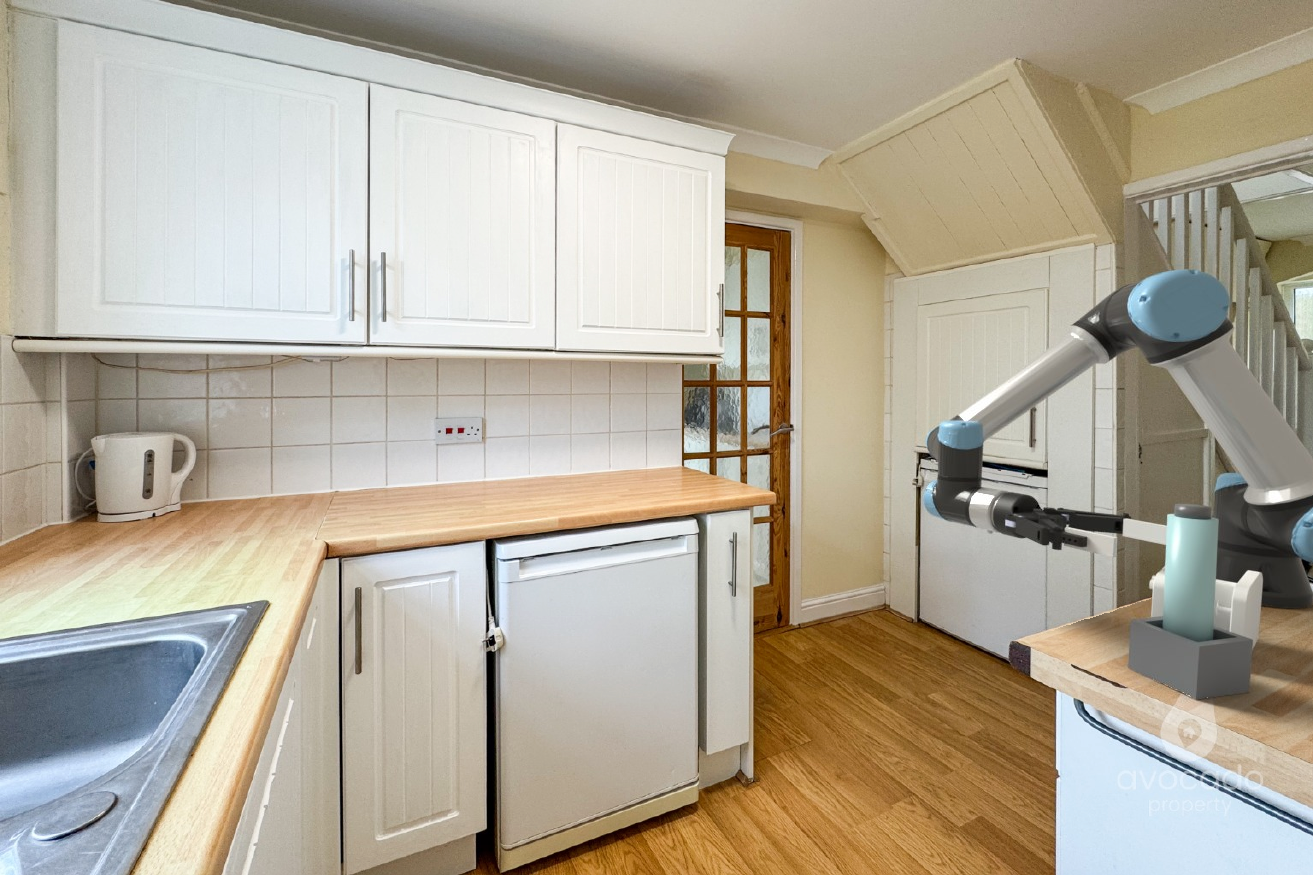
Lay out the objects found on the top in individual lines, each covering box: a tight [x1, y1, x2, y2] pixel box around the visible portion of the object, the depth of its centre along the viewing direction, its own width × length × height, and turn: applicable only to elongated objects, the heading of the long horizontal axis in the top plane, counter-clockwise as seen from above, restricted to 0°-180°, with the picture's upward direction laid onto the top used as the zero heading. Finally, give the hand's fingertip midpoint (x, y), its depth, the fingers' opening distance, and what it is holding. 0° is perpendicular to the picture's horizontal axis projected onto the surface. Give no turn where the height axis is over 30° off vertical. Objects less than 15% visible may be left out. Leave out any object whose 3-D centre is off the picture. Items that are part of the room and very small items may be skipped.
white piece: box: [1148, 565, 1263, 651], centre depth 87 cm, size 15×11×12 cm
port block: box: [1127, 616, 1253, 701], centre depth 77 cm, size 9×9×7 cm
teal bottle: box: [1163, 503, 1219, 642], centre depth 77 cm, size 5×5×24 cm
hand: (1146, 542), depth 81 cm, fingers open, 13 cm apart
